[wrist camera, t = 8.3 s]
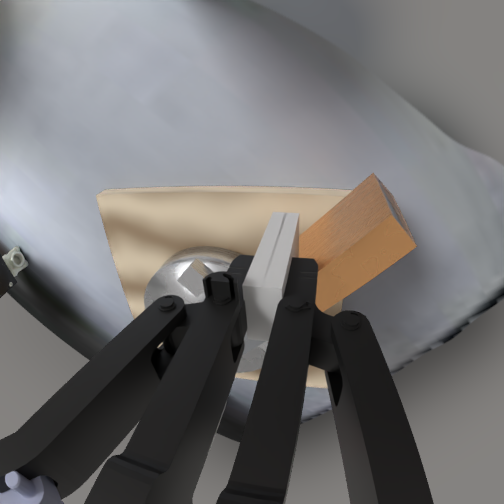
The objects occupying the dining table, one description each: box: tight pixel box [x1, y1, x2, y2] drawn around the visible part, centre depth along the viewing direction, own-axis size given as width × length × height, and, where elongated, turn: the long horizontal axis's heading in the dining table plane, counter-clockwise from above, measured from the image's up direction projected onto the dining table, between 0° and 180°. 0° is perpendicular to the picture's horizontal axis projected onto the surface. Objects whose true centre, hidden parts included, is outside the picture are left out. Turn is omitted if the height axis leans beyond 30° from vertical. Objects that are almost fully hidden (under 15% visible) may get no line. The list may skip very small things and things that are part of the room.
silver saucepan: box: [144, 173, 417, 373], centre depth 22 cm, size 24×13×8 cm, turn 139°
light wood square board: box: [96, 186, 352, 388], centre depth 29 cm, size 22×22×2 cm
